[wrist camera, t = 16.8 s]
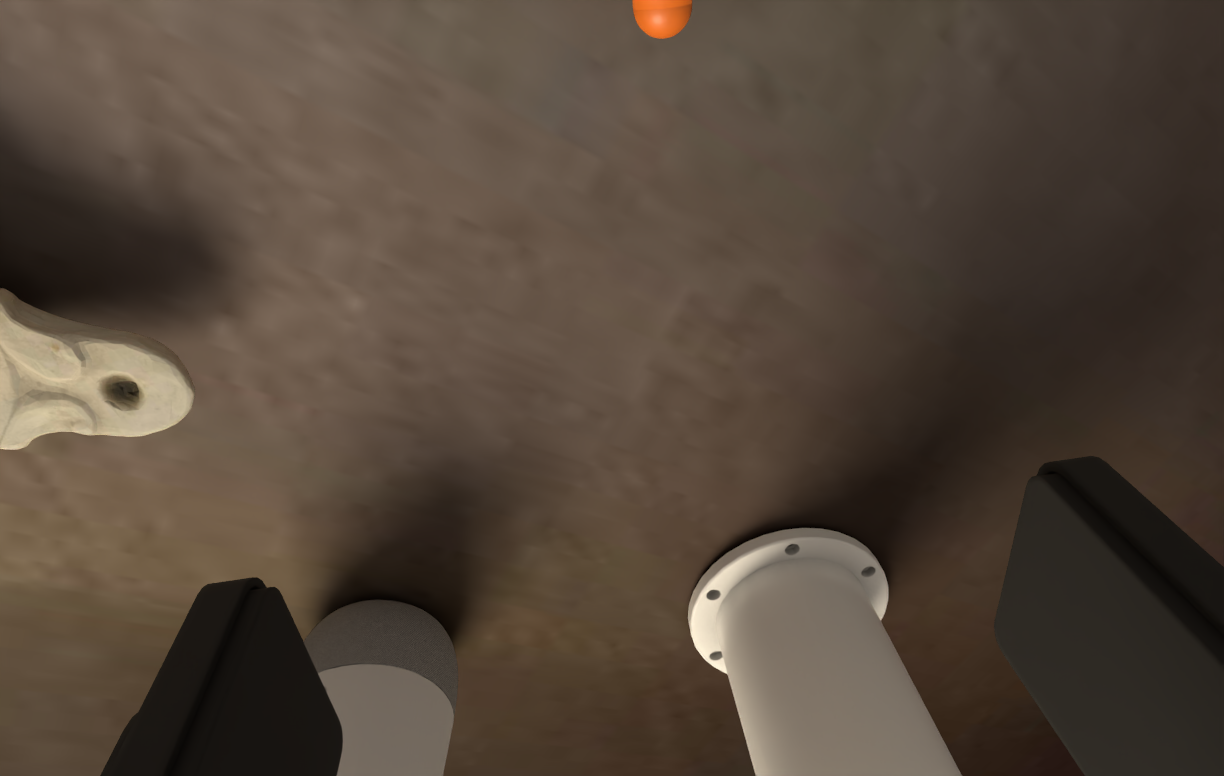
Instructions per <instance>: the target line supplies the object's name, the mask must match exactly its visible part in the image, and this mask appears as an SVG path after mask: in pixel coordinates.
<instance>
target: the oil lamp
mask: <svg viewBox="0 0 1224 776" xmlns="http://www.w3.org/2000/svg"><path fill="white" fill-rule="evenodd" d="M194 397H195V388H194V385H193V383H192V380H191V378H190V375H189V373H188V371H187V369H186V368H185V366H184V365H183V363H182V362H181V360H180V359H179V358H178V357H177V355H176V354H175V353H174V352H173V351H171V350H170V349H169V348H167V347H166V346H165V345H163V344H162V343H160V342H158V341H156V340H154V339H151V338H148V337H145V336H141V335H138V334H135V333H131V332H126V331H121V330H115V329H109V328H104V327H99V326H94V325H89V324H85V323H81V322H77V321H73V320H69V319H65V318H62V317H59V316H56V315H53V314H50V313H47V312H45V311H42V310H40V309H38V308H35V307H33V306H31V305H29V304H27V303H25V302H23V301H21V300H19V299H18V298H17V297H16V296H15V295H14V294H13V293H11V292H10V291H8V290H6V289H3V288H0V448H1V449H6V450H17V449H20V448H23V447H26V446H27V445H29V443H30V442H31V441H32V440H33V439H35V438H37V437H38V436H40V435H44V434H47V433H54V432H59V431H65V432H76V433H80V434H85V435H111V436H126V437H134V436H144V435H147V434H151V433H154V432H158V431H161V430H164V429H166V428H169V427H171V426H173V425H175V424H177V423H178V422H179V421H180V420H182V419H183V418H184V417H185V416H186V414H187V413H188V412H189V410H190V409H191V407H192V404H193V401H194Z"/></svg>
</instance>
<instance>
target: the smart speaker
mask: <svg viewBox="0 0 1224 776" xmlns="http://www.w3.org/2000/svg"><path fill="white" fill-rule="evenodd" d="M304 644H305V647H306V649H307V651H308V653H309V655H310V657H311V660H312V662H313V664H314V666H315V668H316V670H317V673H318V675H319V677H320V679H321V681H322V683H323V686H324V688H325V690H326V692H327V694H328V696H329V699H330V701H331V703H332V705H333V707H334V709H335V712H336V714H337V716H338V718H339V720H340V723H341V726H342V732H343V748H342V754H341V759H340V764H339V768H338V772H337V776H443V772H444V767H445V761H446V756H447V751H448V746H449V741H450V736H451V731H452V726H453V720H454V714H455V706H456V699H457V689H458V666H457V660H456V654H455V651H454V647H453V644H452V642H451V640H450V637H449V636H448V634H447V632H446V631H445V629H444V628H443V626H442V625H441V624H440V623H439V622H438V621H437V620H436V619H435V618H434V617H433V616H431V615H430V614H429V613H427V612H425V611H424V610H422V609H420V608H417V607H415V606H413V605H410V604H406V603H403V602H398V601H392V600H367V601H361V602H356V603H352V604H349V605H346V606H344V607H342V608H339V609H338V610H336V611H334V612H332V613H331V614H329V615H328V616H327V617H325V618H324V619H323V620H322V621H321V622H320V623H318V624H317V625H316V627H315V628H314V629H313V630H312V631H311V632H310V634H309V635H308V636H307V638H306V639H305V641H304Z"/></svg>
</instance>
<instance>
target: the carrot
mask: <svg viewBox="0 0 1224 776" xmlns="http://www.w3.org/2000/svg"><path fill="white" fill-rule="evenodd" d="M632 1H633V12H634V16H635V19H636V22H637V23H638V25H639V27H640V28H641V29H642V30H643V31H644V32H645V33H646V34H648V35H650V36H652V37H654V38H660V39H662V38H669V37H672V36H674V35H676V34H677V33H679V32H680V31H681V30H682V29H683V28H684V27H685V25H686V24H687V22H688V20H689V18H690V15H691V11H692V0H632Z"/></svg>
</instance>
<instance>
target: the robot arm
mask: <svg viewBox="0 0 1224 776" xmlns="http://www.w3.org/2000/svg"><path fill="white" fill-rule="evenodd" d="M887 603H888V583H887V579H886V576H885V573H884V571H883V569H882V567H881V566H880V564H879V562H878V560H877V559H876V557H875V556H874V555H873V554H872V552H871V551H870V550H869V549H868V548H867V547H866V546H865V545H863V544H862V543H860V542H859V541H857V540H856V539H855V538H852V537H850V536H847V535H845V534H843V533H840V532H836V531H831V530H826V529H821V528H796V529H787V530H781V531H777V532H773V533H769V534H765V535H762V536H760V537H757V538H755V539H752V540H750V541H747V542H745V543H743V544H741V545H740V546H738V547H736V548H735V549H733V550H731V551H729V552H728V553H726V554H725V555H724V556H723V557H721V558H720V559H719V560H718V561H717V562H715V563H714V564H713V565H712V566H711V567H710V568H709V569H708V571H707V572H706V573H705V574H704V575H703V576H702V577H701V579H700V581H699V582H698V584H697V586H696V588H695V589H694V591H693V594H692V597H691V600H690V603H689V609H688V622H689V627H690V632H691V636H692V639H693V642H694V644H695V647H696V649H697V650H698V651H699V653H700V654H701V656H702V657H703V658H704V659H705V660H706V661H707V662H709V663H710V664H711V665H712V666H713V667H715V668H717V669H719V670H721V671H722V672H724V673H726V674H728V677H729V681H730V684H731V688H732V691H733V695H734V699H735V702H736V706H737V710H738V713H739V717H740V720H741V724H742V728H743V731H744V735H745V738H746V742H747V746H748V749H749V753H750V756H751V760H752V764H753V767H754V771H755V774H756V776H962V775H961V773H960V771H959V770H958V768H957V766H956V764H955V762H954V760H953V758H952V756H951V754H950V752H949V751H948V749H947V747H946V745H945V743H944V741H943V739H942V737H941V735H940V733H939V731H938V730H937V728H936V726H935V724H934V722H933V720H932V718H931V716H930V714H929V712H928V710H927V709H926V707H925V705H924V703H923V701H922V699H921V697H920V695H919V693H918V691H917V689H916V688H915V686H914V684H913V682H912V680H911V678H910V676H909V674H908V672H907V670H906V668H905V667H904V665H903V663H902V661H901V659H900V657H899V655H898V653H897V651H896V649H895V647H894V646H893V644H892V642H891V640H890V638H889V636H888V634H887V632H886V630H885V628H884V626H883V625H882V623H881V619H882V617H883V615H884V613H885V611H886V607H887ZM994 629H995V636H996V640H997V642H998V645H999V647H1000V649H1001V651H1002V653H1003V654H1004V656H1005V657H1006V659H1007V660H1008V662H1009V663H1010V665H1011V666H1012V668H1013V669H1014V671H1015V672H1016V674H1017V675H1018V677H1019V678H1020V680H1021V681H1022V683H1023V684H1024V686H1025V687H1026V689H1027V690H1028V692H1029V693H1030V695H1031V696H1032V697H1033V699H1034V700H1035V702H1036V703H1037V705H1038V706H1039V708H1040V709H1041V711H1042V712H1043V714H1044V715H1045V717H1046V718H1047V720H1048V721H1049V723H1050V724H1051V726H1052V727H1053V729H1054V730H1055V732H1056V733H1057V735H1058V736H1059V738H1060V739H1061V741H1062V742H1063V744H1064V745H1065V747H1066V748H1067V750H1068V751H1069V753H1070V754H1071V755H1072V757H1073V758H1074V760H1075V761H1076V763H1077V764H1078V766H1079V767H1080V769H1081V770H1082V772H1083V773H1084V775H1085V776H1224V567H1223V566H1222V565H1221V564H1219V563H1218V562H1217V561H1216V560H1215V559H1214V558H1213V557H1212V556H1210V555H1209V554H1208V553H1207V552H1206V551H1205V550H1204V549H1203V548H1201V547H1200V546H1199V545H1198V544H1197V543H1196V542H1195V541H1194V540H1193V539H1191V538H1190V537H1189V536H1188V535H1187V534H1186V533H1185V532H1184V531H1182V530H1181V529H1180V528H1179V527H1178V526H1177V525H1176V524H1175V523H1174V522H1172V521H1171V520H1170V519H1169V518H1168V517H1167V516H1166V515H1165V514H1163V513H1162V512H1161V511H1160V510H1159V509H1158V508H1157V507H1156V506H1155V505H1153V504H1152V503H1151V502H1150V501H1149V500H1148V499H1147V498H1146V497H1144V496H1143V495H1142V494H1141V493H1140V492H1139V491H1138V490H1137V489H1136V488H1134V487H1133V486H1132V485H1131V484H1130V483H1129V482H1128V481H1127V480H1125V479H1124V478H1123V477H1122V476H1121V475H1120V474H1119V473H1118V472H1116V471H1115V470H1114V469H1113V468H1112V467H1111V466H1110V465H1109V464H1108V463H1106V462H1105V461H1103V460H1102V459H1100V458H1098V457H1094V456H1088V457H1082V458H1075V459H1068V460H1061V461H1054V462H1049V463H1045V464H1044V465H1043V466H1042V467H1041V468H1040V469H1039V472H1038V474H1037V476H1034V477H1031V478H1030V479H1029V481H1028V483H1027V486H1026V490H1025V494H1024V498H1023V503H1022V507H1021V511H1020V515H1019V520H1018V524H1017V528H1016V532H1015V537H1014V541H1013V545H1012V549H1011V554H1010V558H1009V562H1008V567H1007V571H1006V575H1005V579H1004V584H1003V588H1002V592H1001V596H1000V601H999V605H998V609H997V614H996V618H995V624H994ZM342 748H343V732H342V726H341V723H340V720H339V718H338V716H337V714H336V712H335V709H334V707H333V705H332V703H331V701H330V699H329V696H328V694H327V692H326V690H325V688H324V686H323V683H322V681H321V679H320V677H319V675H318V673H317V670H316V668H315V666H314V664H313V662H312V660H311V657H310V655H309V653H308V651H307V649H306V647H305V644H304V642H303V640H302V638H301V636H300V634H299V631H298V629H297V627H296V625H295V623H294V621H293V618H292V616H291V614H290V612H289V610H288V608H287V606H286V603H285V601H284V599H283V597H282V595H281V593H280V591H279V590H278V589H277V588H275V587H269V588H266V586H265V584H264V583H263V581H262V580H260V579H259V578H247V579H240V580H233V581H226V582H219V583H212V584H207V585H206V586H204V587H203V588H202V589H201V590H200V592H199V593H198V595H197V597H196V599H195V601H194V603H193V605H192V607H191V609H190V611H189V613H188V615H187V617H186V619H185V621H184V623H183V625H182V627H181V629H180V631H179V633H178V635H177V637H176V639H175V641H174V643H173V645H172V647H171V649H170V651H169V653H168V655H167V657H166V659H165V661H164V663H163V665H162V667H161V669H160V670H159V672H158V674H157V676H156V678H155V680H154V682H153V684H152V686H151V688H150V690H149V692H148V694H147V696H146V698H145V700H144V702H143V704H142V706H141V708H140V710H139V712H138V713H137V714H136V715H134V716H133V717H132V718H131V720H130V722H129V723H128V725H127V726H126V728H125V729H124V731H123V732H122V734H121V736H120V738H119V740H118V742H117V744H116V746H115V748H114V750H113V752H112V754H111V756H110V758H109V760H108V762H107V764H106V766H105V768H104V770H103V772H102V774H101V776H337V772H338V768H339V764H340V759H341V754H342Z"/></svg>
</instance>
